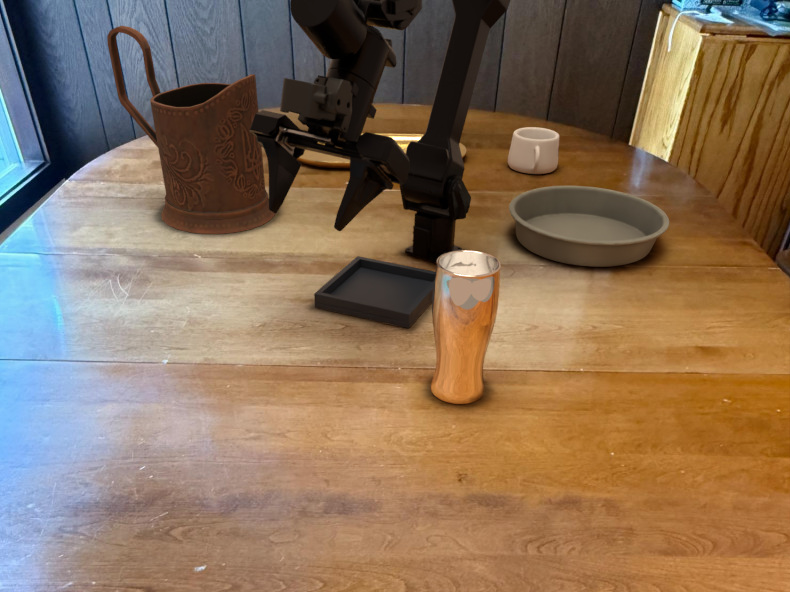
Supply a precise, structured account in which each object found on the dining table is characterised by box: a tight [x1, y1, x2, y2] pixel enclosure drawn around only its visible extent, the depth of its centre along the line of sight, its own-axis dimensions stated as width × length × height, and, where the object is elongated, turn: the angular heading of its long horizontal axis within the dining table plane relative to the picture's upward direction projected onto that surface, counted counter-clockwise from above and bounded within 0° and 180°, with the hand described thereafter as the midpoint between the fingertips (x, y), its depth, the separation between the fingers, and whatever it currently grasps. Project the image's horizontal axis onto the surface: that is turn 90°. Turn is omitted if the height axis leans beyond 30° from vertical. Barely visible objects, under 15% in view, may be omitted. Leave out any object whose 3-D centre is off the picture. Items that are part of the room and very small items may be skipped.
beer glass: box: [430, 249, 502, 405], centre depth 84 cm, size 7×7×15 cm
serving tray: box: [313, 255, 436, 329], centre depth 105 cm, size 14×14×2 cm
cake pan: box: [508, 185, 670, 268], centre depth 122 cm, size 25×25×4 cm
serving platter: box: [297, 132, 467, 169], centre depth 151 cm, size 19×35×2 cm, turn 93°
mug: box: [507, 126, 560, 175], centre depth 147 cm, size 12×10×6 cm
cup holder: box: [106, 25, 276, 235], centre depth 120 cm, size 18×24×25 cm
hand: (304, 220), depth 88 cm, fingers open, 9 cm apart
